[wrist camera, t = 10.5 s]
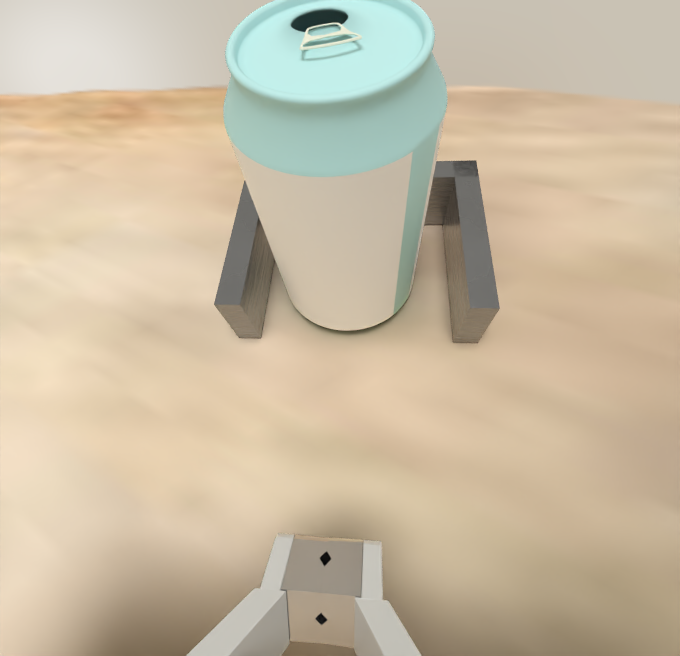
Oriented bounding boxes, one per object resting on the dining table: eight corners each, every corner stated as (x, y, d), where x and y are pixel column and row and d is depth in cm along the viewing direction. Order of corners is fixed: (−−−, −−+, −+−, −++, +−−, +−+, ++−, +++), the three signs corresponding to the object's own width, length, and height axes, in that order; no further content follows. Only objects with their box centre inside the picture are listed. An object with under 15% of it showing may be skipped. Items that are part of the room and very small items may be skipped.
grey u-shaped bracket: (477, 342, 18) (499, 308, 15) (239, 337, 19) (214, 304, 16) (461, 209, 22) (476, 160, 19) (264, 211, 23) (248, 165, 20)
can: (263, 288, 21) (149, 53, 10) (343, 214, 23) (320, -46, 12) (356, 362, 18) (339, 155, 8) (437, 272, 20) (511, 10, 10)
